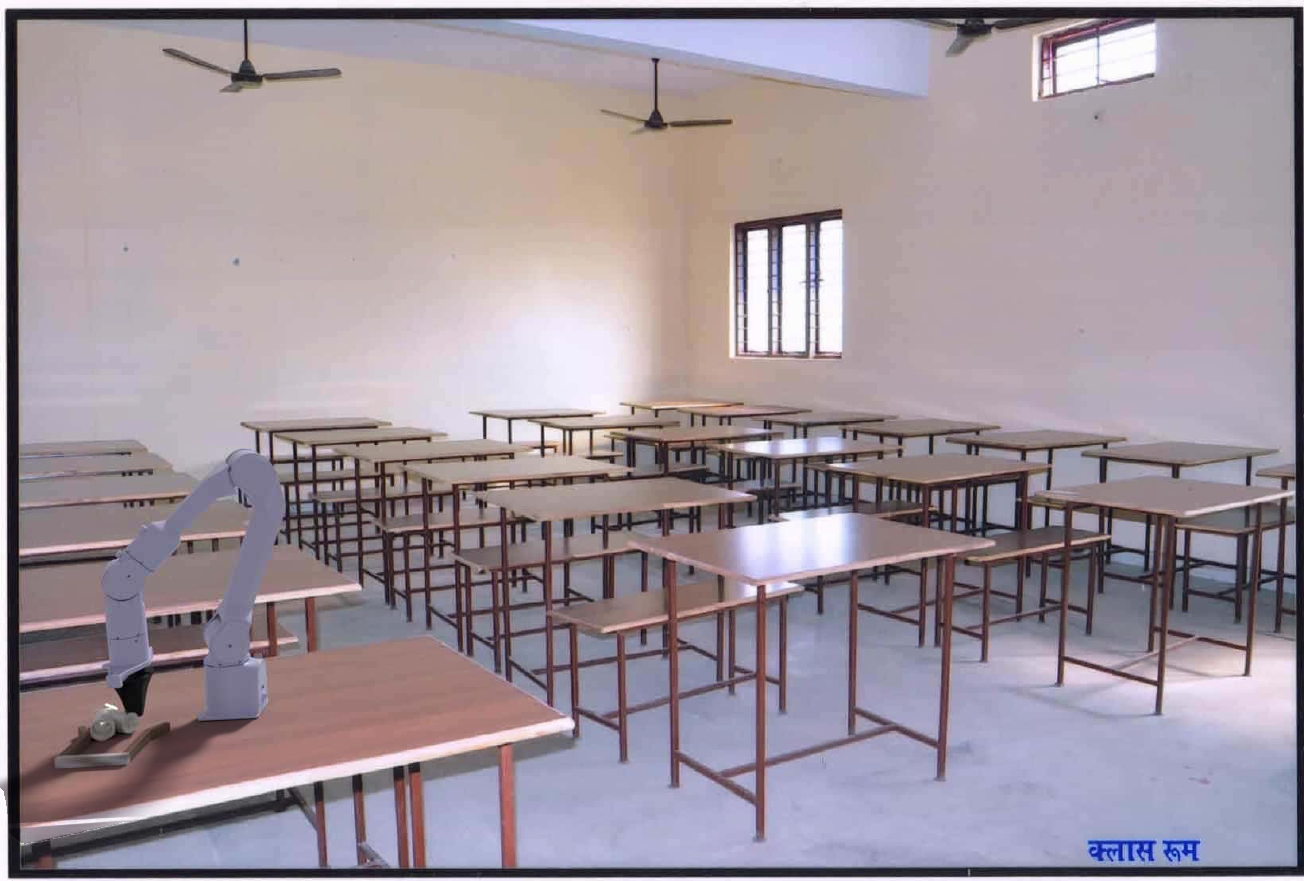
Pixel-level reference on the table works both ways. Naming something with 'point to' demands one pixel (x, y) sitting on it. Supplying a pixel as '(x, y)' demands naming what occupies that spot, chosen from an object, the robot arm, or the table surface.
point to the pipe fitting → (112, 722)
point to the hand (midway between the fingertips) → (135, 716)
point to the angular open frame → (109, 759)
